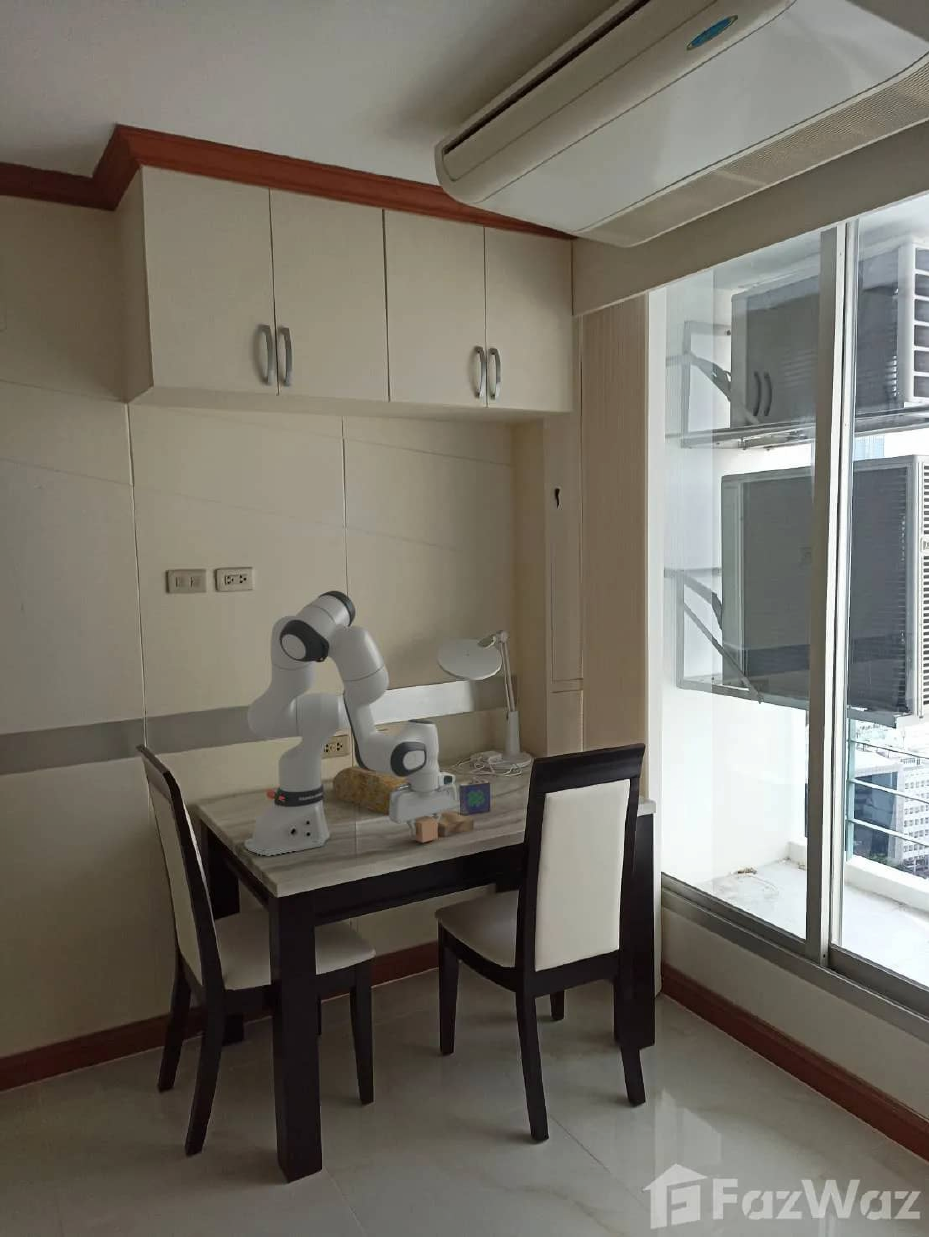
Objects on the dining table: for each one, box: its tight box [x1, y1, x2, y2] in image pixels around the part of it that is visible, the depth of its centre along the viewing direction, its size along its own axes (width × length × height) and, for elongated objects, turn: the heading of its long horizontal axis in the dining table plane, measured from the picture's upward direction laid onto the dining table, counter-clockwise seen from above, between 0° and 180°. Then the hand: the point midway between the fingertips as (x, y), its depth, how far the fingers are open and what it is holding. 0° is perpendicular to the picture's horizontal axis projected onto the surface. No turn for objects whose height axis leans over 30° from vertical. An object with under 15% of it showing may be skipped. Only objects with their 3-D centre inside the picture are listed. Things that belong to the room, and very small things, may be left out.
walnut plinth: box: [431, 810, 475, 838], centre depth 253 cm, size 10×10×3 cm
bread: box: [332, 764, 406, 815], centre depth 279 cm, size 36×11×10 cm, turn 43°
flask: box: [458, 775, 491, 817], centre depth 265 cm, size 9×3×11 cm, turn 109°
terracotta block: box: [410, 815, 439, 843], centre depth 243 cm, size 5×5×5 cm
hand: (424, 831), depth 243 cm, fingers closed on terracotta block, 5 cm apart
